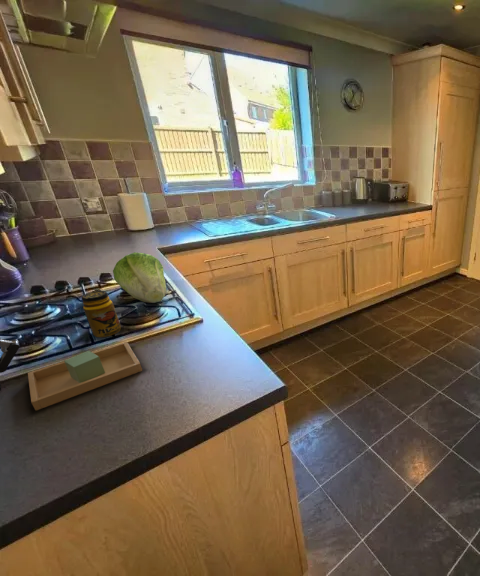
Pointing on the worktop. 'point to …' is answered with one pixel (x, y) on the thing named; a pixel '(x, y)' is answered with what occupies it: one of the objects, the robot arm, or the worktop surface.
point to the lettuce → (141, 277)
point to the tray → (60, 385)
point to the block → (84, 366)
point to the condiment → (101, 314)
